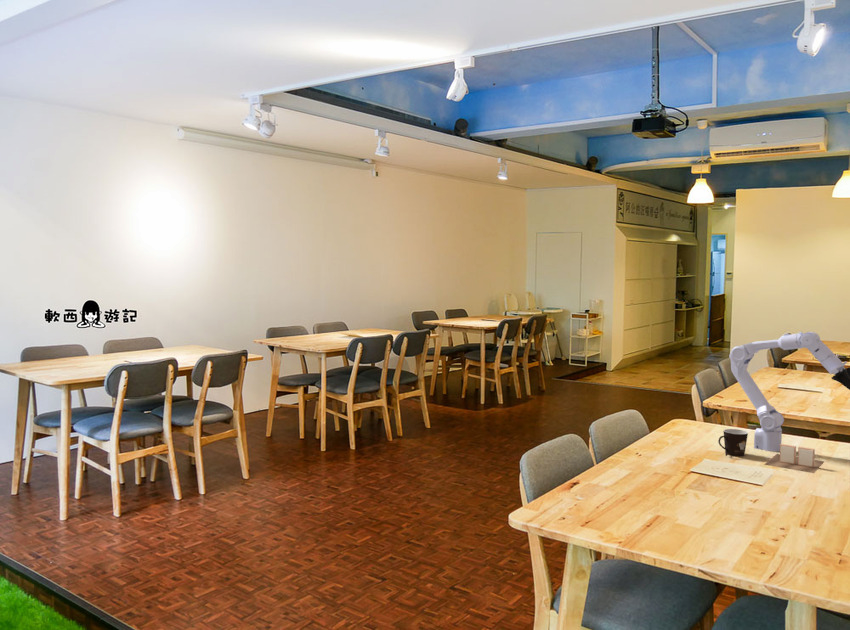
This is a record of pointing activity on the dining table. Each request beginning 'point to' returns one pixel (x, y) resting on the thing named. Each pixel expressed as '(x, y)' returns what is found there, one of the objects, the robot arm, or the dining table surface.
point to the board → (776, 462)
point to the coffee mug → (734, 442)
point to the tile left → (787, 454)
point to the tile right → (806, 456)
